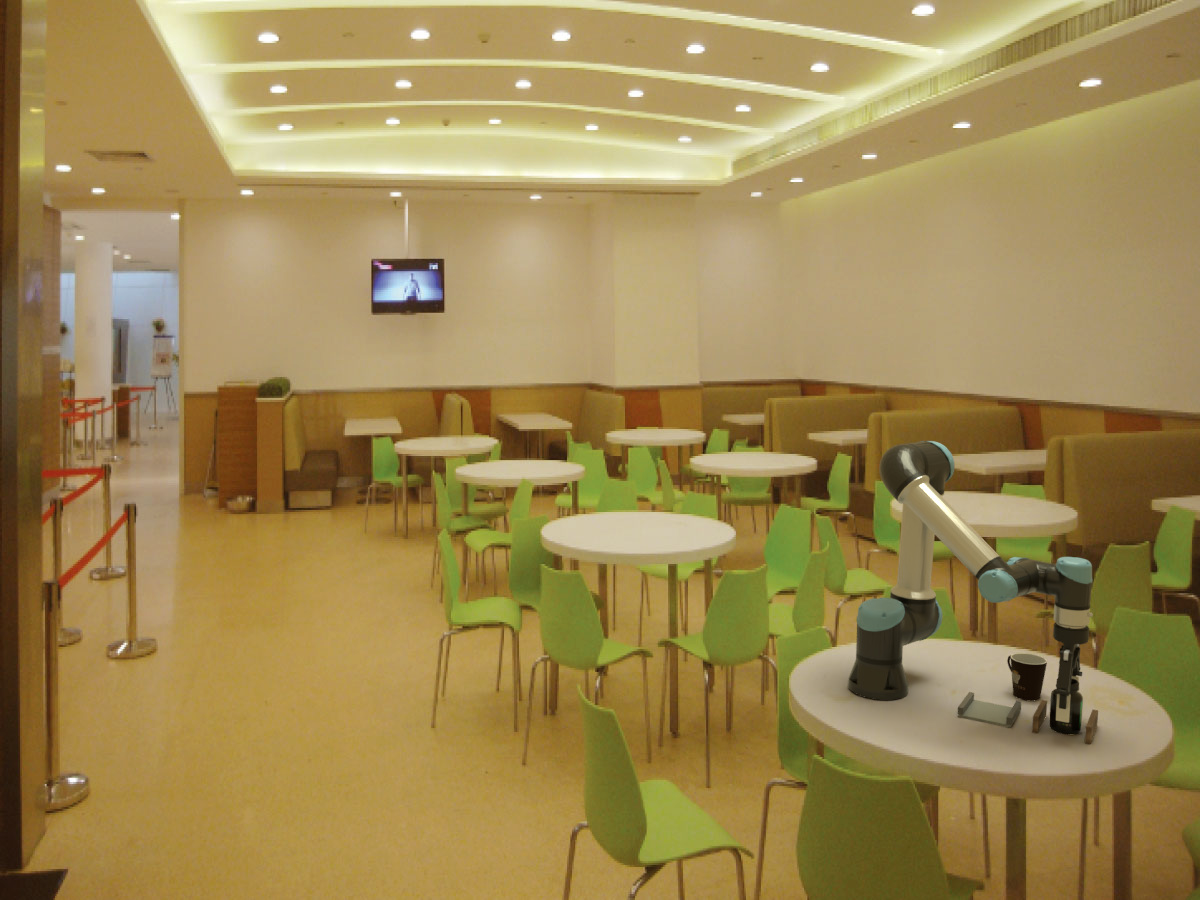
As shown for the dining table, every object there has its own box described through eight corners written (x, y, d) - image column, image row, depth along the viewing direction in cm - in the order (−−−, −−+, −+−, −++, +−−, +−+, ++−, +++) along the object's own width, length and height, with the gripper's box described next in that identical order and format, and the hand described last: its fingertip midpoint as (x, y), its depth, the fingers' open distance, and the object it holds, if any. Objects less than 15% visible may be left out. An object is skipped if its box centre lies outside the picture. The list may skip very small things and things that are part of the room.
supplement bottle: (1087, 733, 230) (1090, 683, 229) (1064, 737, 228) (1068, 687, 226) (1064, 722, 237) (1067, 674, 235) (1042, 725, 234) (1045, 677, 233)
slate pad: (957, 716, 240) (957, 707, 239) (968, 700, 250) (969, 691, 249) (1011, 727, 233) (1011, 718, 233) (1020, 711, 243) (1021, 702, 243)
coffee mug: (1048, 703, 248) (1050, 665, 247) (1012, 701, 250) (1014, 663, 248) (1037, 687, 259) (1039, 650, 258) (1003, 684, 261) (1005, 648, 260)
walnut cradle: (1032, 732, 231) (1033, 715, 230) (1040, 715, 240) (1041, 699, 240) (1090, 744, 224) (1091, 727, 223) (1097, 726, 234) (1098, 710, 233)
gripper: (1081, 640, 216) (1076, 733, 219) (1095, 613, 237) (1091, 697, 240) (1045, 635, 221) (1040, 725, 223) (1062, 608, 241) (1057, 692, 244)
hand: (1066, 711), depth 231 cm, fingers open, 13 cm apart
